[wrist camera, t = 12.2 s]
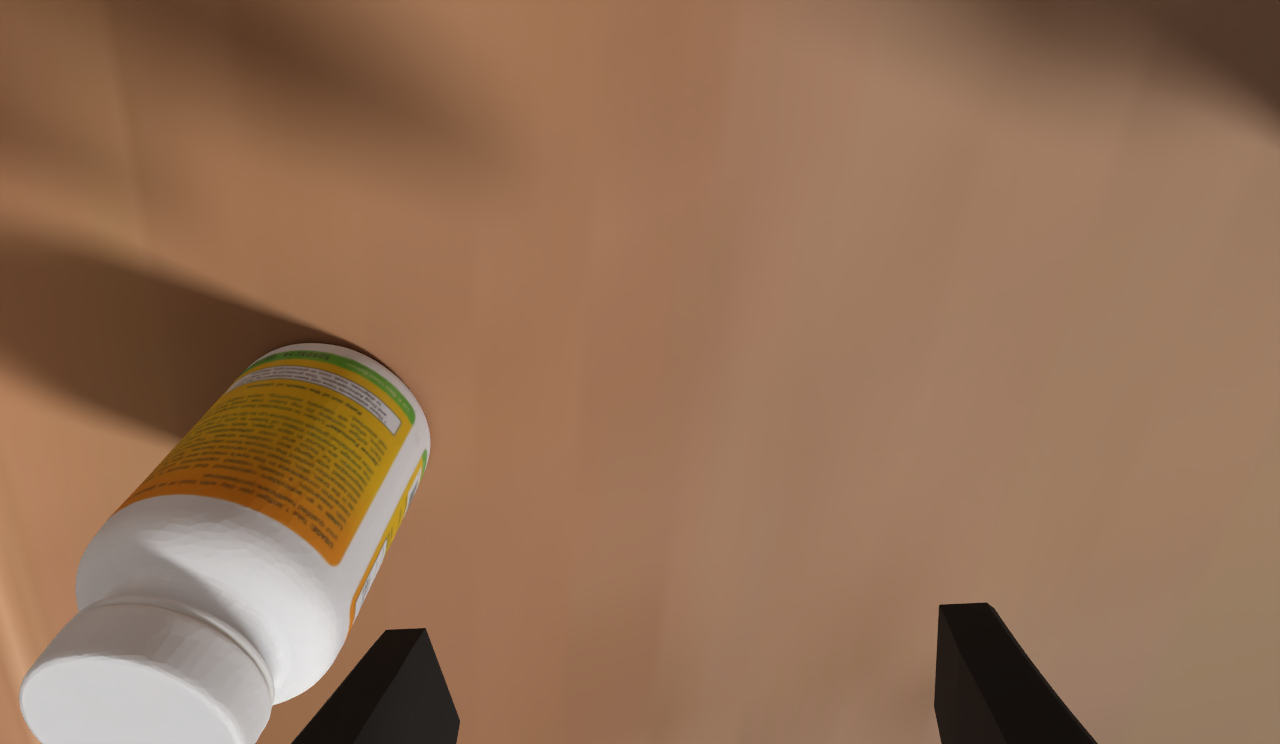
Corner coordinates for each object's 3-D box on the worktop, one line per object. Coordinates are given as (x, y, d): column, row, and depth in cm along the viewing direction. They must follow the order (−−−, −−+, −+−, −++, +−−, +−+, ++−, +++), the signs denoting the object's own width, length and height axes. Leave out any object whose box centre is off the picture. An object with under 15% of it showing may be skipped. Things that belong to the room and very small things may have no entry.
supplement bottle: (208, 344, 22) (-90, 629, 14) (405, 328, 22) (214, 618, 13) (277, 505, 25) (60, 824, 17) (454, 495, 24) (321, 823, 16)
